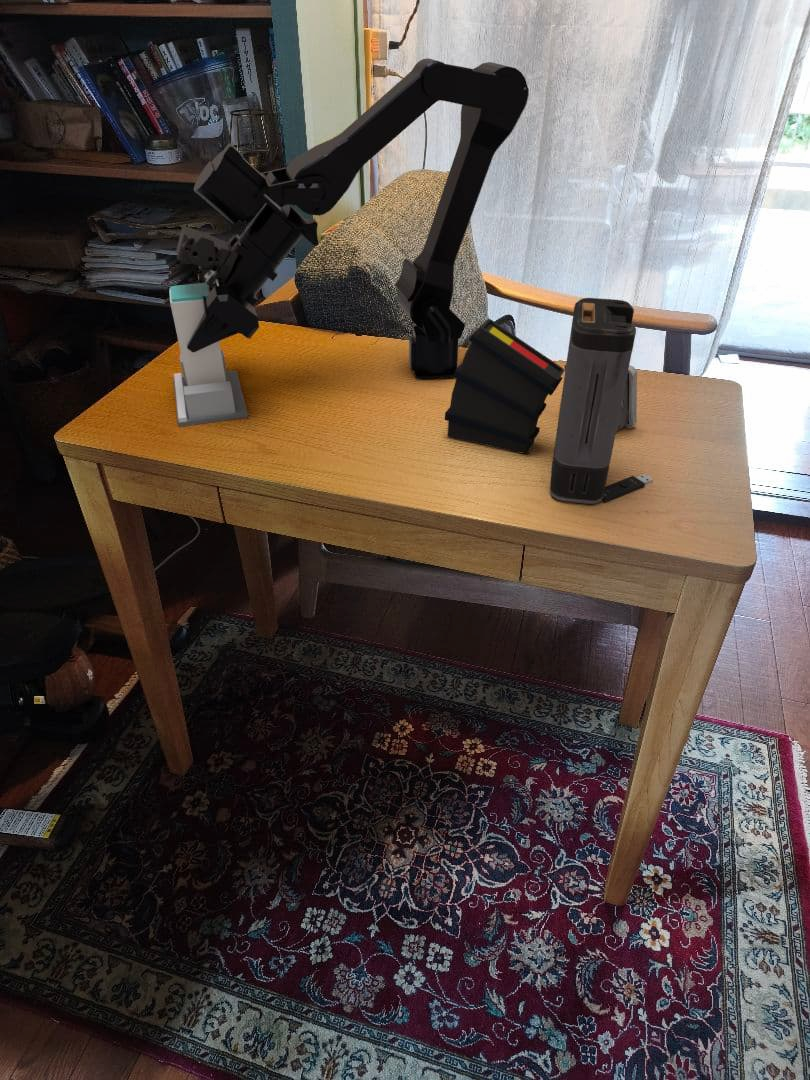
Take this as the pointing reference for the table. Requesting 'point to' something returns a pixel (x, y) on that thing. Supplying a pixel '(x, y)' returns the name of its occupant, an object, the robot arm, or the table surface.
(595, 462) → the electronic device
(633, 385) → the electrical switch
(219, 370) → the block
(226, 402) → the rail board
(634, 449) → the table surface
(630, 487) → the usb flash drive
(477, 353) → the magazine
